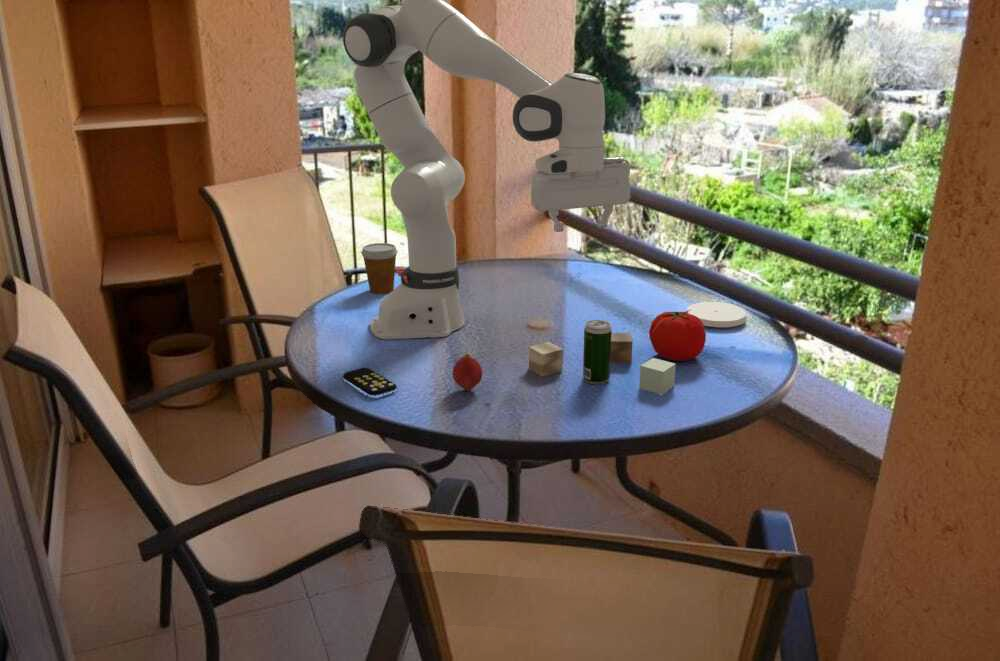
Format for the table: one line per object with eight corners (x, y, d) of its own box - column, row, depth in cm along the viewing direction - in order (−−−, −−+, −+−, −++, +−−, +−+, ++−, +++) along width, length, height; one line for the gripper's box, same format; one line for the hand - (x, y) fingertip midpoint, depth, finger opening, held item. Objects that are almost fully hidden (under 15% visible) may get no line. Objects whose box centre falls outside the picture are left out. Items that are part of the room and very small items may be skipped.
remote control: (367, 373, 175) (366, 364, 174) (399, 393, 165) (399, 384, 165) (340, 381, 171) (339, 372, 170) (372, 402, 162) (371, 392, 161)
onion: (447, 390, 165) (445, 352, 163) (468, 381, 169) (467, 345, 166) (467, 399, 162) (466, 361, 159) (488, 390, 165) (488, 352, 162)
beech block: (542, 376, 171) (542, 354, 170) (528, 368, 175) (529, 346, 174) (562, 371, 174) (562, 349, 172) (548, 363, 178) (548, 341, 176)
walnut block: (607, 363, 178) (608, 341, 176) (606, 354, 182) (607, 332, 181) (631, 363, 178) (632, 341, 176) (629, 354, 182) (630, 333, 180)
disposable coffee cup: (360, 287, 228) (357, 244, 224) (394, 283, 231) (392, 241, 227) (368, 297, 220) (365, 253, 216) (403, 293, 223) (401, 249, 219)
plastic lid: (757, 322, 201) (758, 312, 200) (720, 335, 193) (721, 325, 192) (710, 307, 211) (711, 298, 210) (673, 319, 203) (674, 310, 202)
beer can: (597, 387, 166) (599, 331, 162) (577, 379, 170) (578, 324, 165) (615, 379, 169) (617, 324, 165) (594, 372, 173) (596, 317, 169)
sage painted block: (661, 395, 163) (663, 371, 161) (639, 389, 166) (640, 365, 164) (674, 386, 166) (675, 363, 165) (651, 380, 169) (653, 357, 167)
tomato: (711, 353, 182) (715, 308, 179) (694, 371, 173) (697, 325, 169) (658, 343, 188) (661, 299, 184) (639, 360, 179) (642, 315, 175)
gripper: (623, 154, 170) (621, 221, 175) (527, 161, 164) (528, 230, 169) (637, 158, 164) (634, 227, 169) (538, 166, 159) (538, 237, 164)
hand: (580, 229), depth 169 cm, fingers open, 8 cm apart
